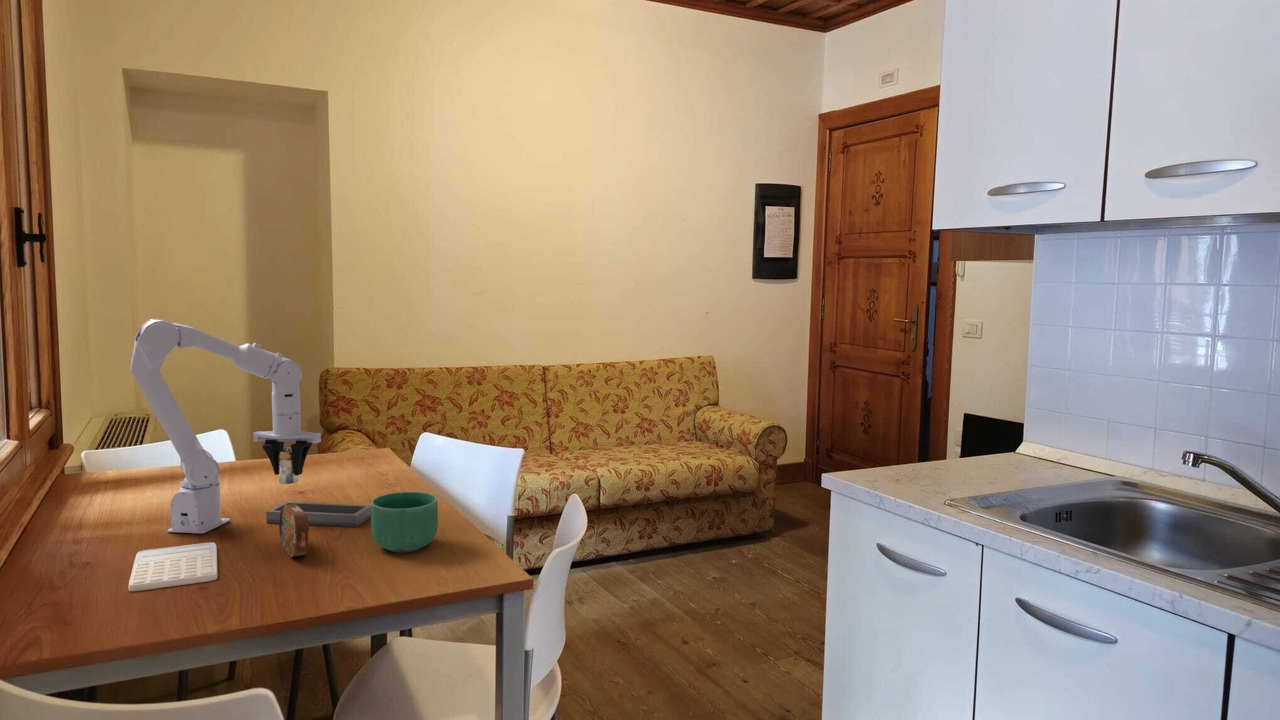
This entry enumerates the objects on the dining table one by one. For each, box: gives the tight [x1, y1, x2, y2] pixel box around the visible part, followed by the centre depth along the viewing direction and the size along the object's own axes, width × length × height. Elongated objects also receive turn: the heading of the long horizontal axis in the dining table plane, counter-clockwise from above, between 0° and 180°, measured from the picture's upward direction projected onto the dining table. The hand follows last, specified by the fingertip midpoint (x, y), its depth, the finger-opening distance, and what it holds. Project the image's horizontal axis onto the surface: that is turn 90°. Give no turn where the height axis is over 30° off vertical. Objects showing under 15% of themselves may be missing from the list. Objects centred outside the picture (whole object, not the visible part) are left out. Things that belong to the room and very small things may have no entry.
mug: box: [370, 491, 439, 553], centre depth 164 cm, size 17×13×10 cm
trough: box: [265, 501, 371, 528], centre depth 180 cm, size 8×20×2 cm, turn 84°
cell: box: [278, 446, 300, 485], centre depth 183 cm, size 4×4×8 cm
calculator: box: [127, 542, 219, 592], centre depth 149 cm, size 13×20×2 cm, turn 27°
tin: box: [278, 504, 310, 559], centre depth 159 cm, size 15×3×8 cm, turn 34°
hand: (288, 474), depth 183 cm, fingers closed on cell, 4 cm apart
